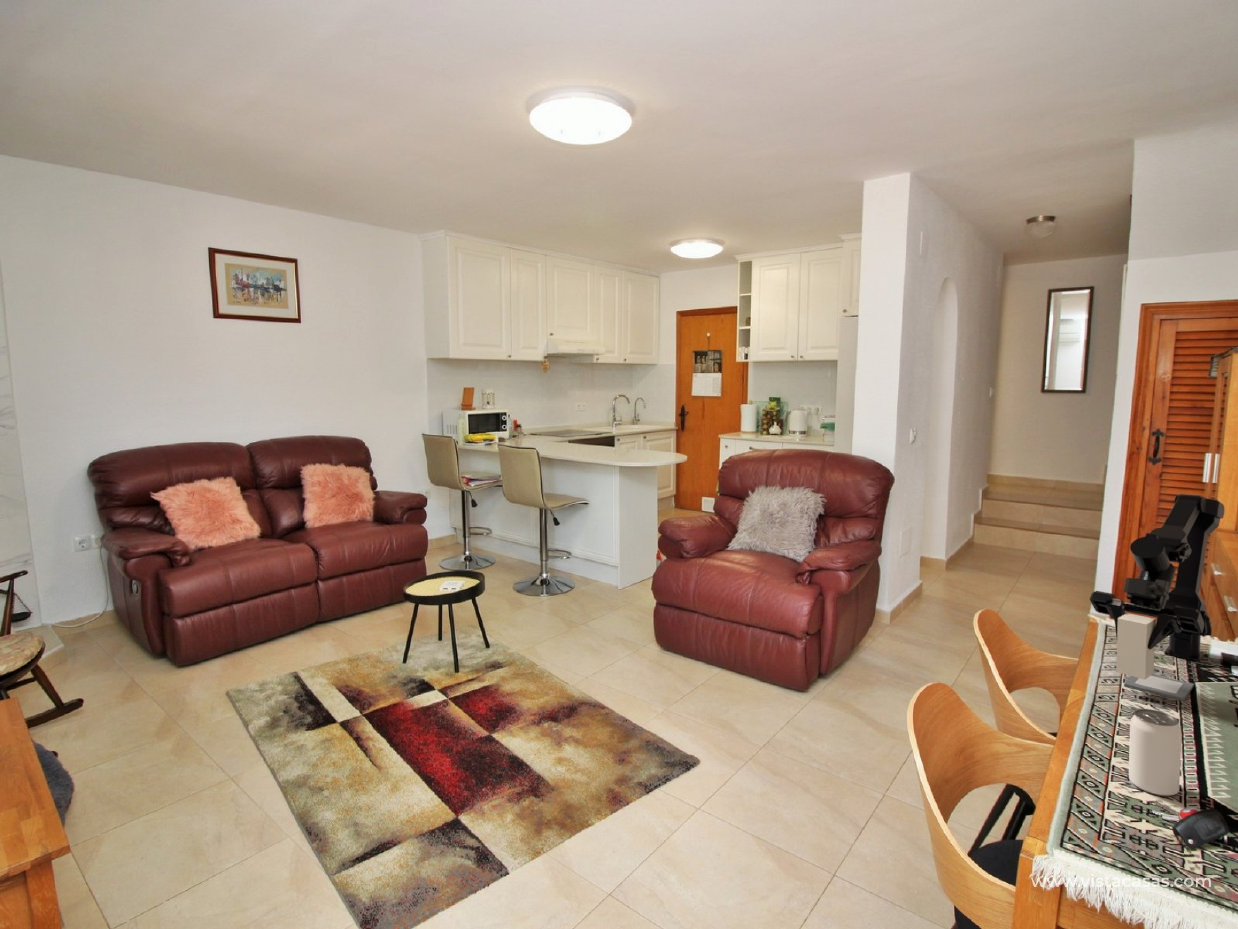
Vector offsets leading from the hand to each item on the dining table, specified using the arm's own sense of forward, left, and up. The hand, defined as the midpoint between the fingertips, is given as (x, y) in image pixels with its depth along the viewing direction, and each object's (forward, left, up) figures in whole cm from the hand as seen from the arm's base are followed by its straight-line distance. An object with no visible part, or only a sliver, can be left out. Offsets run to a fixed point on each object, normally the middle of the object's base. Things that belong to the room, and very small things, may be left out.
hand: (1133, 644), depth 135 cm
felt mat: (-9, +3, -11) cm, 15 cm away
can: (+36, +11, -12) cm, 39 cm away
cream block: (-1, 0, -7) cm, 7 cm away
